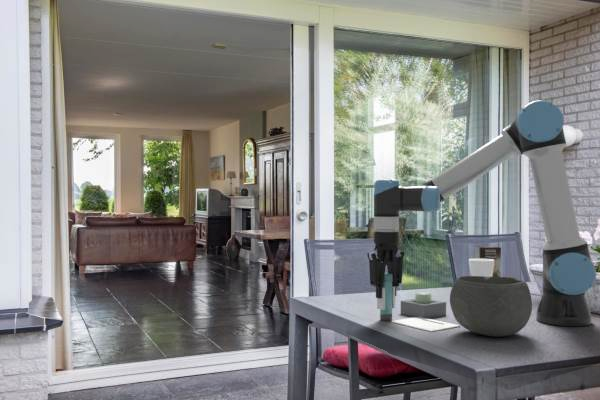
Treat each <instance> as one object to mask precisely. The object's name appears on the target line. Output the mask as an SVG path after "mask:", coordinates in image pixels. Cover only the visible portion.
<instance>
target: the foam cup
mask: <svg viewBox="0 0 600 400" xmlns="http://www.w3.org/2000/svg"><path fill="white" fill-rule="evenodd" d="M468 266H469V267H468V268H469V274H470V275H469V276H485V277H492V276H493V269H494V260H493V259H480V258H479V259H475V258H469V259H468Z"/></svg>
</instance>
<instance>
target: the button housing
mask: <svg viewBox="0 0 600 400" xmlns="http://www.w3.org/2000/svg"><path fill="white" fill-rule="evenodd" d="M400 314H402V315H407V316H411V317H424V318H428V319H431V318H435V317H441V316H446V315H447V302H446V301H443V300H442V301H440V300H435V299H431V303H426V304H422V303H417V302H415V298H414V299H413V298H412V299H405V300H404V299H403V300H400Z"/></svg>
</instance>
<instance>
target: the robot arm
mask: <svg viewBox="0 0 600 400" xmlns="http://www.w3.org/2000/svg"><path fill="white" fill-rule="evenodd" d="M564 121H565V119H564V115H563V112H562V110H561V109H560V108H559V106H558V105H556V104H555V103H553V102H551V101H548V100H545V99H540V100H539V99H538V100H534V101H532V102H528V104H527V103H526V104H525V105H524V106H522V108H521V109H520V110H519V112H518V114H517V117H516V118H515V119H514V121H512V122H511V123H510V124H509V125H507V126H505V127H504V128H502V131H501V134H500V135H498V136H495V138H494V139H492V140H491V141H489V142H487V143H486V144H484V145H482V146H481V147H480V148H478V149H476V150H475V151H473V152H471V154H469V155H467V156H465V157H464V158H462V159H461V160H458V162H457V163H454V164H453V165H452V166H450V167H449V168H447V169H445V170H444V171H442V172H441V173H439V174H437V176H435V177H433V178H432V179H431V180H428V181H427V182H425V183H424V184H422V185H410V186H404V185H400V181H399V180H398V179H377V180H376V181H374V187H373V188H374V189H373V229H374V230H375V231H374V232H373V243H374V244H375V247H374V251H372V252H368V253H367V258H368V262H369V265H368V267H369V283H370V285H371V286H373V287H374V288H375V298H376V309H378V310H380V309H382V310H385V288H383V283H384V275H385V273H386V270H387V273H392V274H393V281H392V309H396V296H397V287H400V284H402V283H403V265H404V257H405V254H406V253H405V251H404V250H403V251H402V250H400V249H399V247H398V244H399V242H400V233H399V231H398V230H399V229H400V212H425V213H430V212H438V211H439V210H440V206H441V203H442V202H443V201H444V200H446V199H447V198H449V197H451V196H452V195H454V194H455V193H457V192H459V191H460V190H462V189H463V188H465V187H466V186H468V185H470V184H472V183H474V181H476V180H478V179H479V178H481V177H483V176H485V175H486V174H487V173H488V172H490V171H492V170H493V169H495V168H496V167H498V166H500V165H501V164H503V163H504V162H507V161H509V160H510V159H511V158H513V157H514V156H522V155H524V156H526V157H527V158H528V159H529V162H530V167H531V172H532V176H533V177H532V179H533V182H534V186H535V191H536V196H537V200H538V206H539V210H540V215H541V220H542V225H543V230H544V235H545V238H546V239H545V240H546V243H545V244H544V246H543V247H542V248H541V249H542V254H541V256H542V296H541V298H540V301H539V304H538V307H537V310H536V314H535V315H536V316H535V317H536V321H538V322H541V323H544V324H547V325H554V326H559V327H560V326H563V327H586V326H590V325H592V314H591V311H590V308H589V305H588V302H587V299H586V292H587V291H589V290H590V289H591V288H592V287H593V285H594V284H595V282H596V278H597V269H596V266H595V265H594V262H593V261H592V259H591V255H590V253H591V252H590V250H589V245H588V242H587V240H586V239H583V238H582V237H581V235H580V231H579V226H578V221H577V216H576V212H575V207H574V204H573V198H572V194H571V188H570V184H569V179H568V175H567V170H566V165H565V160H564V157H563V150H564V149H565V147H567V142H566V137H565V132H564V124H565V123H564ZM386 268H387V269H386Z"/></svg>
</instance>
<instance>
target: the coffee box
mask: <svg viewBox="0 0 600 400" xmlns="http://www.w3.org/2000/svg"><path fill="white" fill-rule="evenodd" d="M479 258H480V259H493V260H494V269H493V276H492V277H502V275H501V274H502V273H501V272H502V271H501V270H502V269H501V268H502V266H501V265H502V263H501V262H502V247H500V246H496V245H495V246H493V245H491V246H490V245H489V246H488V245H486V246H484V245H482V246H480V245H477V246H475V257H474V259H479Z"/></svg>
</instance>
